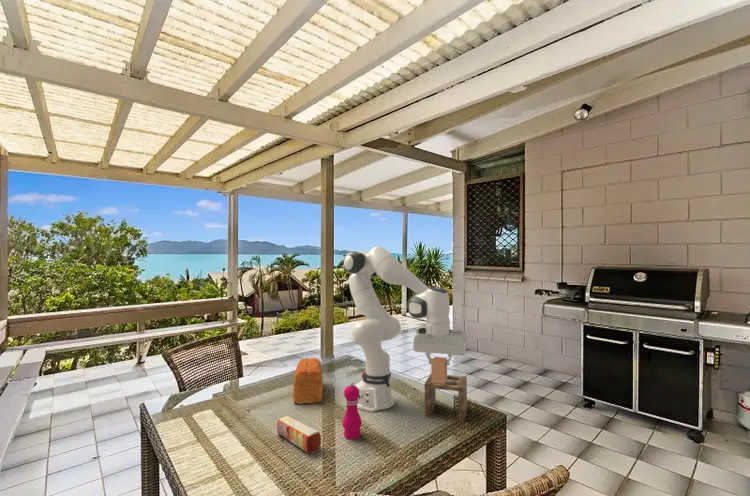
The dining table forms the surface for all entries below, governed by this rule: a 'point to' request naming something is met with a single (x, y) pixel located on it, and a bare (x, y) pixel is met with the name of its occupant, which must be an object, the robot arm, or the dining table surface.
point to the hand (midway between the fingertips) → (439, 364)
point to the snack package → (299, 434)
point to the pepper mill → (351, 413)
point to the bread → (308, 381)
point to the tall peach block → (438, 370)
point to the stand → (450, 384)
